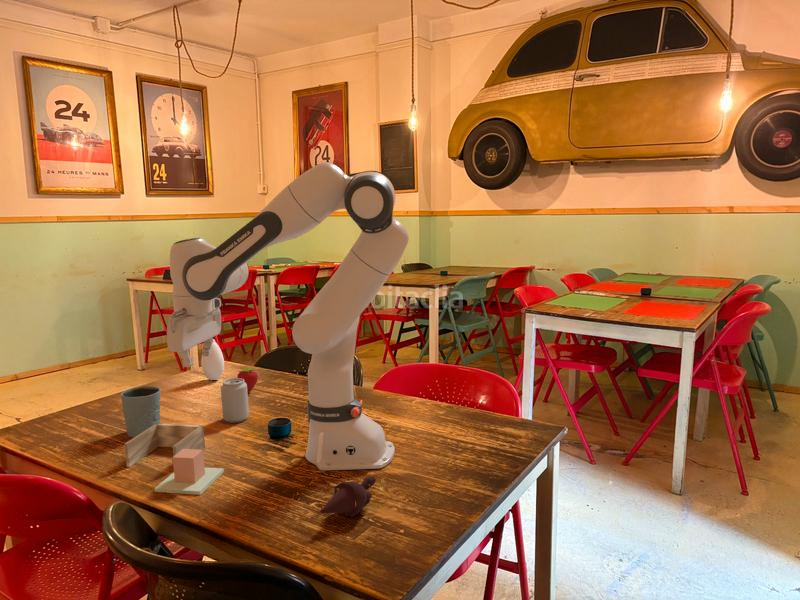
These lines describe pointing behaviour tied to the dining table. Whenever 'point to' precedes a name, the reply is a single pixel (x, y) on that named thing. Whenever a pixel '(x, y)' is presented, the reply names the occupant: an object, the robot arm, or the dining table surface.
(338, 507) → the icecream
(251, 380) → the strawberry
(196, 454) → the block
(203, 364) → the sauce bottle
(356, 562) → the dining table surface
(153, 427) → the open box
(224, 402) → the can
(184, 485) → the green mat
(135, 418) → the grey cup
